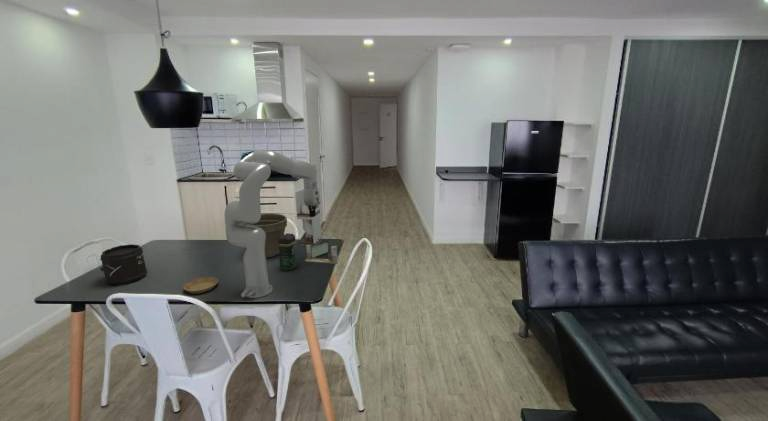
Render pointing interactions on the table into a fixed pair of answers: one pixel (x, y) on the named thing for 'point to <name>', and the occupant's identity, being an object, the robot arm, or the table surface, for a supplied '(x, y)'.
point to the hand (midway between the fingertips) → (312, 216)
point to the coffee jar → (287, 252)
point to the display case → (308, 221)
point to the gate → (319, 250)
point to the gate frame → (331, 259)
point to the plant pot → (271, 231)
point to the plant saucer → (200, 285)
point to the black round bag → (123, 264)
